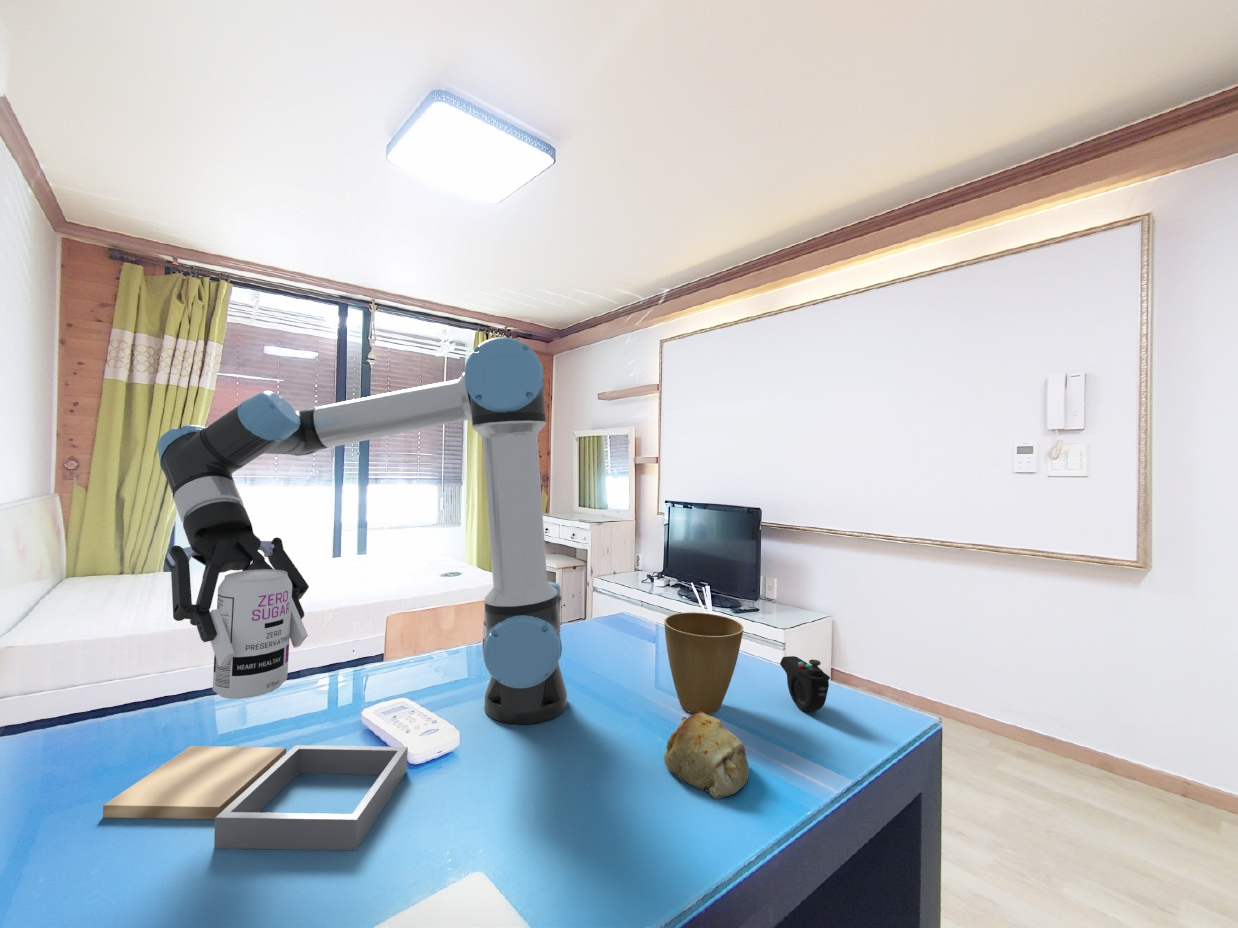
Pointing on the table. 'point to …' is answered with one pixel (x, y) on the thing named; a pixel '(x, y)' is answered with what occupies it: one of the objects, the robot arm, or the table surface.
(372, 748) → the bin
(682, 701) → the plant pot
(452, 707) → the table surface
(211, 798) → the pad
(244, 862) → the table surface
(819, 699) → the controller
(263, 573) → the supplement can
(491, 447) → the robot arm
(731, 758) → the pastry
